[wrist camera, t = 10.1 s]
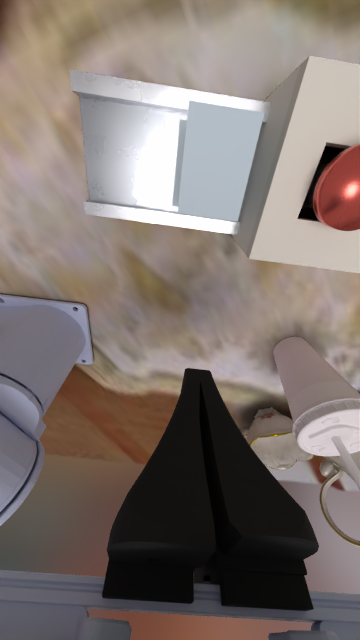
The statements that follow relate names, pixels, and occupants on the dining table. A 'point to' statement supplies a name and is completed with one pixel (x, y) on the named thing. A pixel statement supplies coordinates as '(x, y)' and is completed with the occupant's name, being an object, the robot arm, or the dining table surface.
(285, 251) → the end cabinet
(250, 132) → the carriage
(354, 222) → the red push button
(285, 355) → the smoothie
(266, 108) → the rail
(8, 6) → the dining table surface
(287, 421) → the chinaware
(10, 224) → the dining table surface
